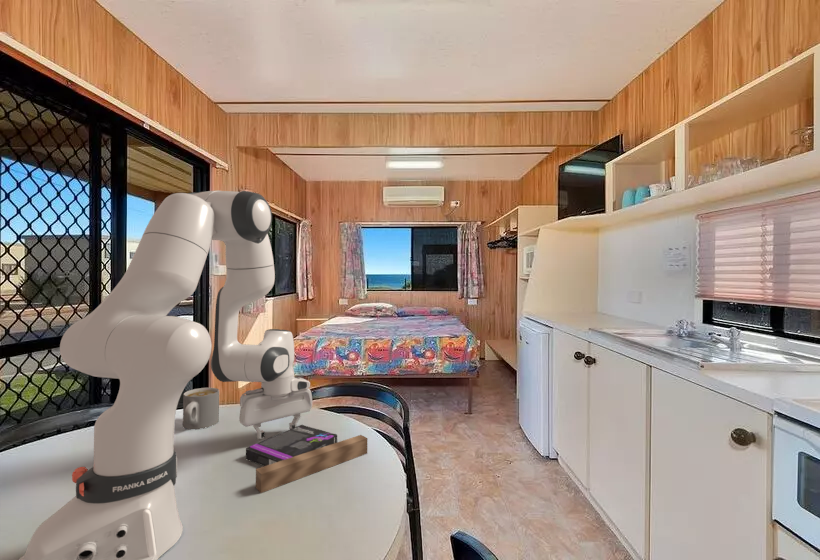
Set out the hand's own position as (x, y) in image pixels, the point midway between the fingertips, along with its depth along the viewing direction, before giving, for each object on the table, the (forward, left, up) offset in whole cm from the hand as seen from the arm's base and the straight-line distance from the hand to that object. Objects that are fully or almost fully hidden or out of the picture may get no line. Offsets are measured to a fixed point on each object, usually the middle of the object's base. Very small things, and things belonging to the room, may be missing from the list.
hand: (277, 433), depth 107 cm
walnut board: (0, -23, -2) cm, 23 cm away
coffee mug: (-14, +27, -2) cm, 30 cm away
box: (0, -10, -2) cm, 10 cm away
